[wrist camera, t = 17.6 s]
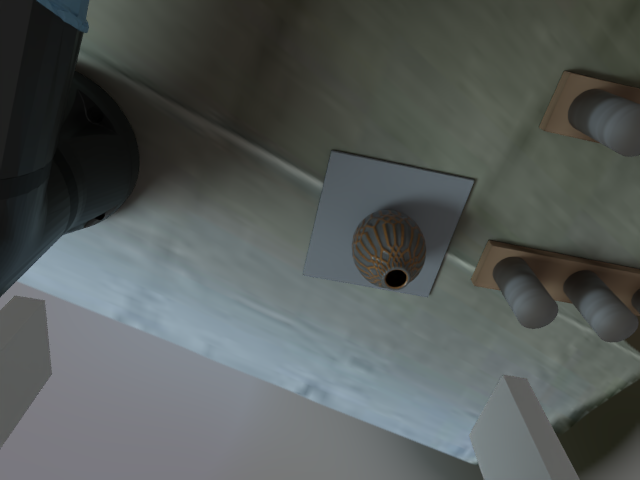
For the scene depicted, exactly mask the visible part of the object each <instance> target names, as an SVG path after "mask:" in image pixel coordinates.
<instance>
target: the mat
mask: <svg viewBox="0 0 640 480" xmlns="http://www.w3.org/2000/svg"><path fill="white" fill-rule="evenodd" d="M473 183H474V180H473V179H470V178H465V177H460V176H455V175H450V174H446V173H441V172H436V171H431V170H426V169H421V168H416V167H412V166H407V165H402V164H397V163H392V162H387V161H383V160H378V159H373V158H368V157H363V156H358V155H354V154H349V153H344V152H339V151H334V150H331V154H330V158H329V163H328V167H327V171H326V176H325V180H324V184H323V189H322V193H321V197H320V201H319V206H318V210H317V214H316V219H315V223H314V227H313V232H312V236H311V240H310V245H309V249H308V253H307V258H306V262H305V266H304V270H303V275H305V276H310V277H316V278H322V279H327V280H333V281H339V282H344V283H350V284H355V285H361V286H367V287H372V288H378V289H384V290H389V291H395V292H401V293H406V294H412V295H418V296H423V297H428V295H429V293H430V290H431V288H432V285H433V283H434V280H435V278H436V275H437V273H438V270H439V268H440V265H441V263H442V260H443V258H444V255H445V253H446V250H447V248H448V245H449V243H450V240H451V238H452V235H453V233H454V230H455V228H456V225H457V223H458V220H459V218H460V215H461V213H462V210H463V208H464V205H465V203H466V200H467V198H468V196H469V193H470V191H471V188H472V186H473ZM379 210H395V211H399V212H402V213H404V214H406V215H407V216H409V217H410V218H411V219H412V220H414V221H415V223H416V224H417V225H418V226H419V228H420V230H421V232H422V234H423V236H424V239H425V243H426V258H425V262H424V266H423V268H422V270H421V272H420V273H419V275H418V276H417V277H416V278H415V279H414V280H413V281H412V282H410V283H409V284H408V285H407V286H406V287H405V288H403V289H400V290H390V289H388V288H381V287H378V286H375V285H373V284H372V283H370V282H369V281H367V280H366V279H365V278H364V277H363V276H362V275H361V273H360V272H359V271H358V269H357V267H356V265H355V263H354V260H353V256H352V239H353V235H354V232H355V230H356V228H357V226H358V225H359V223H360V222H361V221H362V220H363V219H364V218H365V217H367V216H368V215H370V214H371V213H373V212H376V211H379Z"/></svg>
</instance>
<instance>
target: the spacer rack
mask: <svg viewBox="0 0 640 480" xmlns="http://www.w3.org/2000/svg"><path fill="white" fill-rule="evenodd" d="M539 128H541V129H542V130H544V131H547V132H551V133H556V134H560V135H565V136H569V137H574V138H578V139H583V140H587V141H592V142H597V143H601V144H603V145H605V146H607V147H608V148H610V149H612V150H614V151H615V152H617V153H619V154H621V155H623V156H637V155H640V89H639V88H635V87H631V86H626V85H622V84H618V83H614V82H610V81H605V80H601V79H597V78H593V77H588V76H584V75H580V74H576V73H572V72H567V71H564V72H563V74H562V77H561V79H560V81H559V83H558V86H557V88H556V90H555V92H554V94H553V97H552V99H551V101H550V103H549V106H548V108H547V110H546V112H545V115H544V117H543V119H542V121H541V124H540V126H539ZM471 281H472V283H473V284H474V286H479V287H484V288H490V289H495V290H501V292H502V294H503V295H504V297H505V299H506V301H507V302H508V304H509V306H510V307H511V309H512V311H513V312H514V314H515V316H516V317H517V319H518V321H519V322H520V324H521V325H523V326H524V327H527V328H531V329H535V328H541V327H544V326H546V325H548V324H549V323H551V322H552V321H553V320H554V319H555V317H556V316H557V313H558V306H557V304H556V302H555V301H554V300H556V301H561V302H567V303H572V304H574V306H575V307H576V308H577V309H578V311H579V312H580V313H581V314H582V316H583V317H584V318H585V319H586V321H587V322H588V323H589V325H590V326H591V327H592V328H593V330H594V331H595V332H596V333H597V335H598V336H599V337H600V338H601V339H602V340H604V341H606V342H618V341H622V340H624V339H626V338H628V337H629V336H631V335H632V334H633V333H634V332H635V331H636V329H637V327H638V319H637V317H636V316H635V315H638V316H640V269H636V268H631V267H626V266H621V265H615V264H610V263H605V262H600V261H595V260H589V259H584V258H579V257H574V256H569V255H564V254H558V253H553V252H548V251H543V250H538V249H533V248H527V247H522V246H517V245H512V244H507V243H501V242H496V241H491V240H488V242H487V244H486V247H485V249H484V251H483V253H482V256H481V258H480V260H479V262H478V265H477V267H476V269H475V271H474V273H473V276H472V278H471Z"/></svg>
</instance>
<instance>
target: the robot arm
mask: <svg viewBox="0 0 640 480" xmlns="http://www.w3.org/2000/svg"><path fill="white" fill-rule="evenodd" d="M88 4H89V0H0V297H1V296H2V295H3V294H4V293H5V292H6V291H7V290H8V289H9V288H10V287H11V286H12V285H13V284H14V283H15V282H16V281H17V280H18V279H19V278H20V277H21V276H22V275H23V274H24V273H25V272H26V271H27V270H28V269H29V268H30V267H31V266H32V265H33V264H34V263H35V262H36V261H37V260H38V259H39V258H40V257H41V256H42V255H43V254H44V253H45V252H46V251H47V250H48V249H49V248H50V247H51V246H52V245H53V244H54V243H55V242H56V241H57V240H58V239H59V238H60V237H61V236H62V235H64V234H67V233H71V232H74V231H77V230H80V229H83V228H87V227H90V226H92V225H95V224H97V223H99V222H101V221H103V220H105V219H106V218H108V217H109V216H111V215H112V214H113V213H114V212H115V211H116V210H117V209H118V208H119V207H120V206H121V205H122V204H123V203H124V202H125V200H126V199H127V198H128V197H129V195H130V194H131V192H132V190H133V188H134V186H135V183H136V180H137V177H138V171H139V152H138V146H137V142H136V139H135V136H134V133H133V131H132V128H131V126H130V124H129V122H128V120H127V118H126V117H125V115H124V114H123V112H122V111H121V109H120V108H119V107H118V105H117V104H116V103H115V102H114V100H113V99H112V98H111V97H110V96H109V95H108V94H107V93H106V92H105V91H104V90H103V89H101V88H100V87H99V86H98V85H96V84H95V83H94V82H92V81H91V80H89V79H88V78H86V77H85V76H83V75H81V74H79V73H78V72H75V67H76V63H77V59H78V54H79V50H80V46H81V42H82V37H83V33H87V32H88V29H89V25H88V22H87V20H86V16H87V10H88ZM49 350H50V349H49V339H48V329H47V318H46V308H45V301H44V300H38V299H33V298H26V297H20V296H14V297H13V298H12V299H11V300H10V301H9V302H8V303H7V304H6V305H5V306H4V307H3V308H2V310H0V448H1V447H2V445H3V444H4V442H5V441H6V440H7V438H8V437H9V435H10V434H11V433H12V431H13V430H14V428H15V427H16V425H17V424H18V422H19V421H20V420H21V418H22V417H23V415H24V414H25V412H26V411H27V409H28V408H29V406H30V405H31V404H32V402H33V401H34V399H35V398H36V396H37V395H38V393H39V392H40V390H41V389H42V388H43V386H44V385H45V383H46V382H47V380H48V379H49V377H50V376H51V374H52V371H51V360H50V351H49ZM469 436H470V439H471V442H472V446H473V449H474V452H475V455H476V458H477V461H478V464H479V467H480V470H481V473H482V476H483V479H484V480H579V478H578V476H577V474H576V472H575V470H574V468H573V466H572V464H571V462H570V460H569V459H568V457H567V455H566V453H565V451H564V449H563V447H562V445H561V443H560V441H559V440H558V438H557V436H556V434H555V432H554V430H553V428H552V426H551V424H550V422H549V420H548V418H547V417H546V415H545V413H544V411H543V409H542V407H541V405H540V403H539V401H538V399H537V397H536V396H535V394H534V392H533V390H532V388H531V386H530V384H529V382H528V380H527V379H526V378H520V377H514V376H507V375H502V377H501V379H500V380H499V382H498V384H497V386H496V388H495V389H494V391H493V393H492V395H491V397H490V398H489V400H488V402H487V404H486V406H485V407H484V409H483V411H482V413H481V415H480V416H479V418H478V420H477V422H476V424H475V425H474V427H473V429H472V431H471V433H470V434H469Z"/></svg>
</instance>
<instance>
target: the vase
mask: <svg viewBox="0 0 640 480" xmlns="http://www.w3.org/2000/svg"><path fill="white" fill-rule="evenodd" d="M352 256H353V260H354V263H355V265H356V267H357V269H358V271H359V272H360V273H361V275H362V276H363V277H364V278H365V279H366V280H367V281H369V282H370V283H372V284H373V285H375V286H378V287H381V288H388V289H390V290H400V289H403V288H405V287H406V286H407V285H408V284H409V283H410V282H412V281H413V280H414V279H415V278H416V277H417V276H418V275H419V273H420V272H421V270H422V268H423V266H424V262H425V258H426V243H425V239H424V236H423V234H422V232H421V230H420V228H419V226H418V225H417V224H416V223H415V221H414V220H412V219H411V218H410V217H409V216H407V215H406V214H404V213H402V212H399V211H395V210H379V211H376V212H373V213H371V214H370V215H368V216H367V217H365V218H364V219H363V220H362V221H361V222H360V223H359V225H358V226H357V228H356V230H355V232H354V235H353V239H352Z"/></svg>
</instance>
